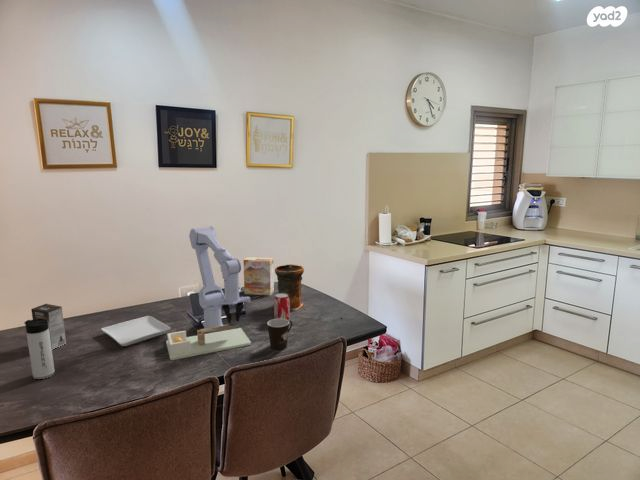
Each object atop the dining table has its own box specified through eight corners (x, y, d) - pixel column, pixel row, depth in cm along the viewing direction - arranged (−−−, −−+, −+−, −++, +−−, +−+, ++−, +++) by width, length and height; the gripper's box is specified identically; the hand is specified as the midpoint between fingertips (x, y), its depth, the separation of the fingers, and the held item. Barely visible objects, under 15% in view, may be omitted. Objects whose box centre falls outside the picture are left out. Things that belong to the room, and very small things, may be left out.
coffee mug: (272, 353, 158) (271, 328, 156) (264, 344, 166) (264, 320, 164) (300, 346, 164) (299, 323, 162) (291, 338, 171) (291, 315, 169)
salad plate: (172, 334, 176) (172, 327, 175) (121, 351, 161) (120, 343, 160) (149, 321, 190) (149, 314, 189) (100, 336, 175) (99, 328, 174)
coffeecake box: (244, 294, 227) (242, 259, 223) (248, 290, 234) (247, 256, 230) (270, 295, 224) (269, 260, 220) (274, 291, 231) (273, 257, 227)
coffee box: (35, 347, 163) (29, 308, 160) (50, 340, 169) (45, 303, 166) (52, 350, 160) (47, 311, 157) (67, 343, 166) (62, 305, 163)
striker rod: (197, 340, 167) (196, 317, 165) (235, 333, 173) (235, 311, 171) (199, 345, 162) (198, 321, 160) (238, 338, 169) (238, 315, 167)
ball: (175, 347, 163) (169, 339, 161) (184, 340, 164) (178, 333, 162) (176, 351, 159) (170, 344, 158) (185, 344, 160) (179, 337, 159)
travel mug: (38, 371, 145) (30, 317, 141) (58, 370, 146) (51, 316, 142) (28, 380, 139) (19, 324, 135) (48, 380, 139) (40, 324, 136)
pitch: (166, 343, 167) (166, 340, 167) (240, 329, 180) (240, 327, 180) (170, 360, 153) (170, 357, 153) (251, 344, 166) (251, 342, 165)
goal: (168, 343, 165) (167, 333, 164) (186, 339, 168) (185, 330, 167) (171, 354, 155) (170, 344, 154) (190, 351, 158) (189, 341, 157)
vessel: (304, 310, 202) (302, 271, 198) (275, 311, 202) (273, 271, 198) (305, 300, 216) (304, 263, 212) (278, 301, 216) (276, 264, 212)
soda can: (287, 323, 187) (286, 298, 184) (272, 322, 188) (271, 297, 186) (291, 317, 193) (291, 293, 191) (277, 316, 195) (276, 292, 192)
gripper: (215, 294, 160) (217, 327, 163) (252, 289, 166) (253, 321, 169) (211, 289, 166) (213, 321, 169) (247, 284, 172) (248, 315, 175)
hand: (233, 321), depth 169 cm, fingers closed on striker rod, 3 cm apart
